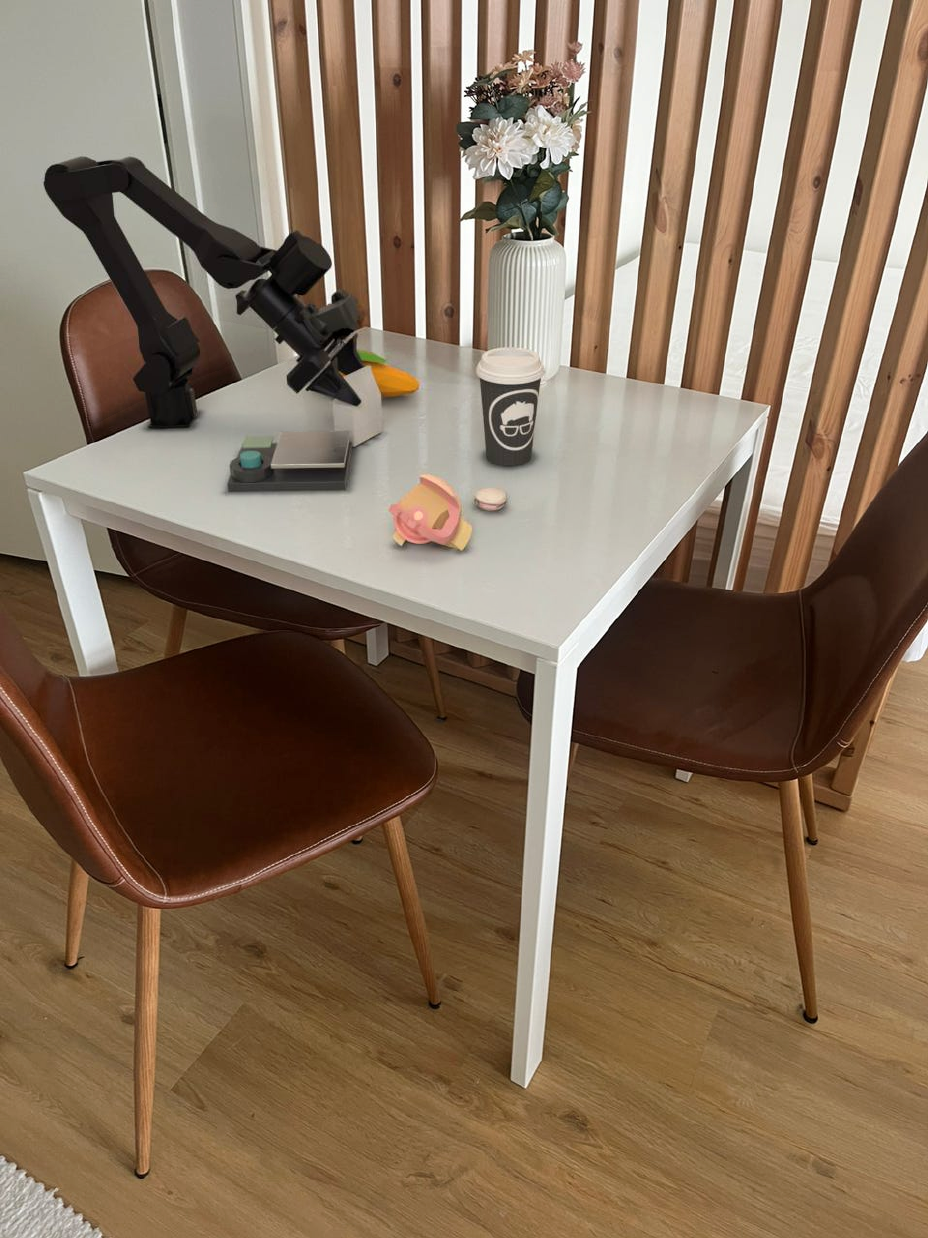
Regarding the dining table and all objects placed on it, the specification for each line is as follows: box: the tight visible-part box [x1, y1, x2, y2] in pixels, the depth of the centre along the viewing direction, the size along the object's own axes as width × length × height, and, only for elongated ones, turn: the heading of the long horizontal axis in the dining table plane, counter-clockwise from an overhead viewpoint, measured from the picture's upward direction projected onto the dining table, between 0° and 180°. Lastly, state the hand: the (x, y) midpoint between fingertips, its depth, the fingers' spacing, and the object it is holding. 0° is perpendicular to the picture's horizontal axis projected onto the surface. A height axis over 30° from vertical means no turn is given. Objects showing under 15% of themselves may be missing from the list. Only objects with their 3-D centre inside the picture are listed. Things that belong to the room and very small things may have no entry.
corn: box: [329, 352, 420, 398], centre depth 164 cm, size 7×8×20 cm
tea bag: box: [332, 365, 383, 448], centre depth 149 cm, size 4×7×10 cm, turn 146°
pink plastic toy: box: [388, 473, 474, 552], centre depth 124 cm, size 9×10×10 cm
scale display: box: [241, 435, 275, 448], centre depth 143 cm, size 4×4×1 cm
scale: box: [226, 442, 353, 493], centre depth 142 cm, size 16×13×3 cm
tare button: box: [240, 451, 262, 468], centre depth 138 cm, size 3×3×2 cm
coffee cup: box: [475, 346, 546, 467], centre depth 142 cm, size 10×10×15 cm
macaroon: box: [474, 487, 508, 512], centre depth 133 cm, size 4×5×2 cm
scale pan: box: [271, 430, 350, 469], centre depth 141 cm, size 10×11×1 cm
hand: (365, 395), depth 147 cm, fingers closed on tea bag, 7 cm apart
